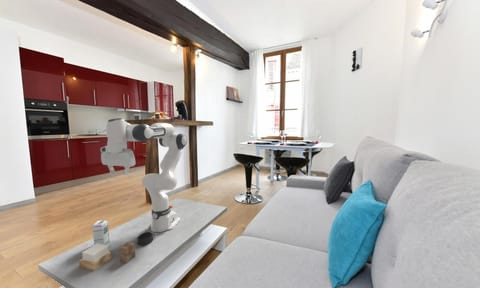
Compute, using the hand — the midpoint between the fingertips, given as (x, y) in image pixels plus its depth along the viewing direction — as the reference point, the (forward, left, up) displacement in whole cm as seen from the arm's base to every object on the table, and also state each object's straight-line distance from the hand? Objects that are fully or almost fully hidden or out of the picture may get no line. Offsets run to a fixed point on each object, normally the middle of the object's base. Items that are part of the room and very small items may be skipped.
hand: (119, 173), depth 104 cm
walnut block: (+2, +5, -47) cm, 47 cm away
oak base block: (+9, -9, -48) cm, 49 cm away
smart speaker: (-14, +2, -48) cm, 50 cm away
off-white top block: (+9, -9, -44) cm, 45 cm away
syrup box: (-3, -21, -47) cm, 52 cm away
